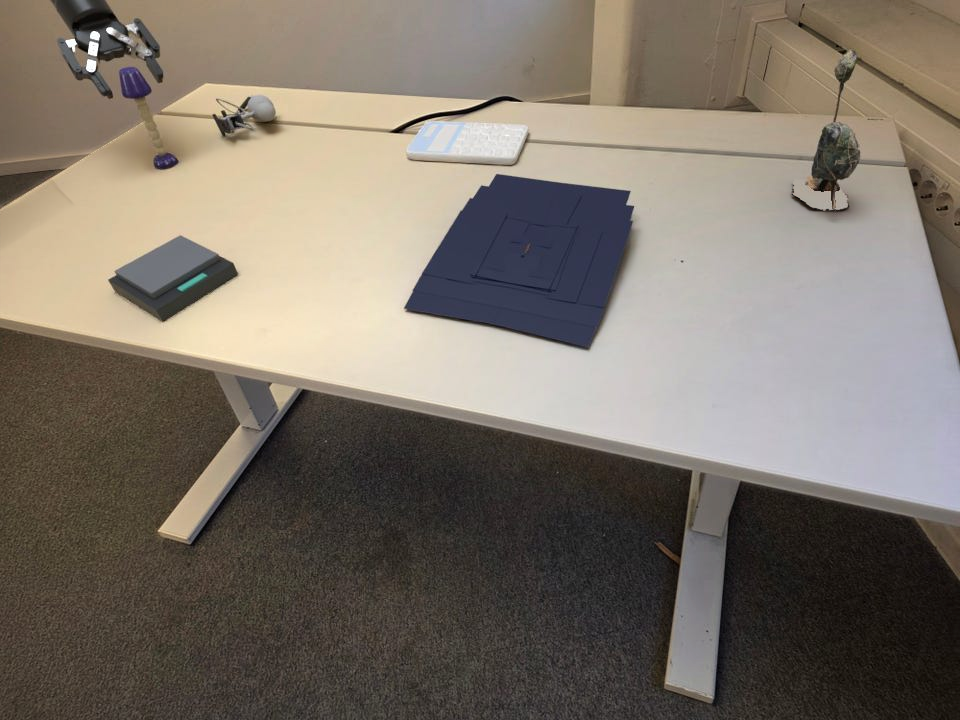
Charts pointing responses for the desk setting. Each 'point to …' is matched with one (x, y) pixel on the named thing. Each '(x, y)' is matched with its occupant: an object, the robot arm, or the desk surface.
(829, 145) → the grey stone sculpture
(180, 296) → the scale
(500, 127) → the calculator
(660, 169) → the desk surface
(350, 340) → the desk surface
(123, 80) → the toy lamp
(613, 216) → the navy flat block
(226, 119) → the clip-on lamp
